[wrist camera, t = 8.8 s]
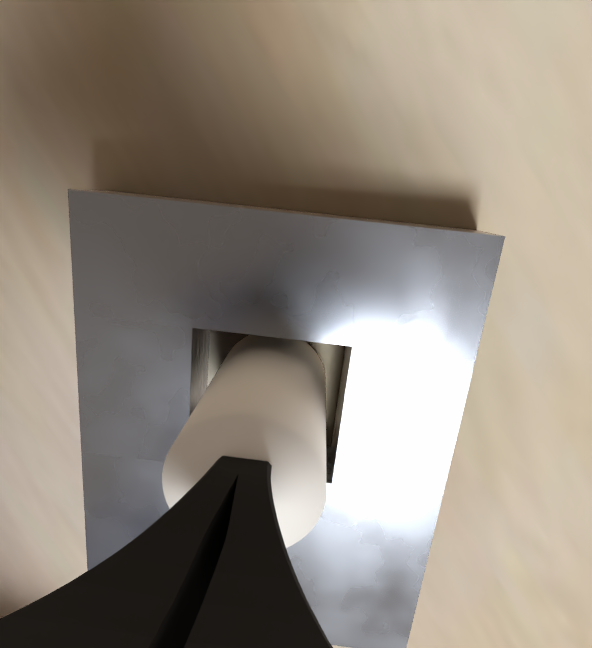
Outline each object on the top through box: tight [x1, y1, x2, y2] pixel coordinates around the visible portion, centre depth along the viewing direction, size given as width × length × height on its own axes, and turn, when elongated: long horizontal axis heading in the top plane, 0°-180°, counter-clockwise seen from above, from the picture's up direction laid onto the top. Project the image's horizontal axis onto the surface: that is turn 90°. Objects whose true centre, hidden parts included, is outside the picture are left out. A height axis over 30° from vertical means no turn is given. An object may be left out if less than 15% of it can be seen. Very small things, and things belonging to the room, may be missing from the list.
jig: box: [68, 189, 505, 648], centre depth 17 cm, size 18×14×2 cm
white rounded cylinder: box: [162, 335, 327, 548], centre depth 15 cm, size 4×4×7 cm
